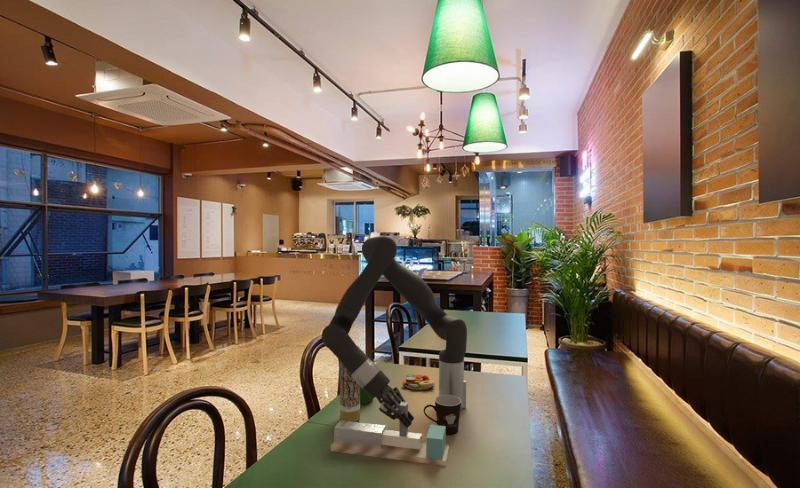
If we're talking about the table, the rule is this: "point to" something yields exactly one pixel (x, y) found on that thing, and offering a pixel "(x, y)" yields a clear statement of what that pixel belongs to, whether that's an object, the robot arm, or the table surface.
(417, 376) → the toy food set
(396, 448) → the track board
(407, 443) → the white bar
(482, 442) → the table surface
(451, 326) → the robot arm
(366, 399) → the bell pepper
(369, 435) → the metal sleeve
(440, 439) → the teal socket
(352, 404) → the paper tube
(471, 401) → the table surface
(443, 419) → the coffee mug
